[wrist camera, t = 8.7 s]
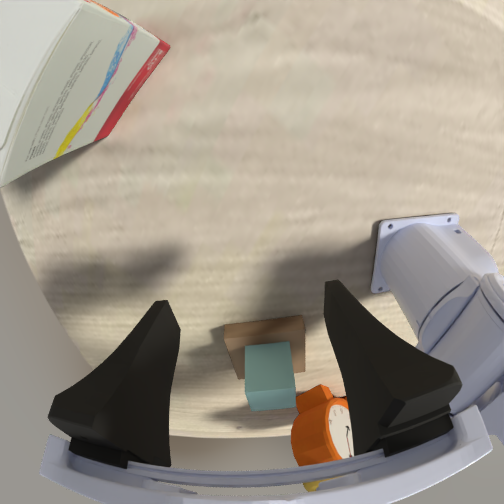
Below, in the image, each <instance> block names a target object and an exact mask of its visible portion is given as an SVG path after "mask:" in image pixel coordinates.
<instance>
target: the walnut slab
mask: <svg viewBox="0 0 504 504" xmlns="http://www.w3.org/2000/svg"><path fill="white" fill-rule="evenodd" d="M224 341H225V344H226V347H227V349H228V352H229V355H230V358H231V361H232V363H233V366H234V369H235V371H236V374H237V377H238V379H245V346H249V345H259V344H269V343H278V342H286V341H289V342H290V349H291V357H292V364H293V372H294V373H300V372H305V326H304V322H303V317H302V315H299V316H292V317H285V318H277V319H269V320H261V321H253V322H244V323H235V324H225V327H224Z"/></svg>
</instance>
